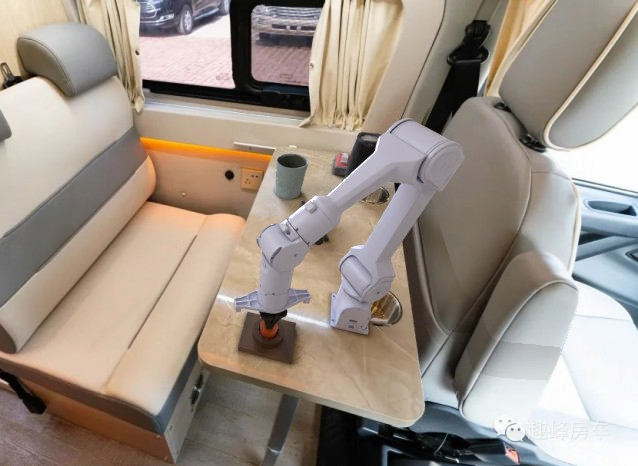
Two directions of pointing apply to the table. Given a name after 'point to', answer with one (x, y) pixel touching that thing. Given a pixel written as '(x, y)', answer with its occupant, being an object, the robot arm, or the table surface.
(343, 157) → the walkie-talkie
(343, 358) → the table surface
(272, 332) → the button
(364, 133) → the portable speaker
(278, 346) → the button block
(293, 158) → the green cup
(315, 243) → the lever
